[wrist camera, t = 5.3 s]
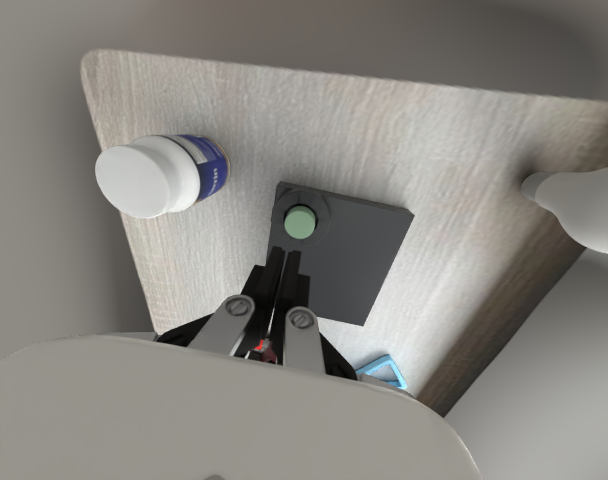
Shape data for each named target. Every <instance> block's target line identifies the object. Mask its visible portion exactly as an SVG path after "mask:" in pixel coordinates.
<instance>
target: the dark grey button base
mask: <svg viewBox="0 0 608 480" xmlns="http://www.w3.org/2000/svg"><path fill="white" fill-rule="evenodd" d="M296 206H305V207H307V208H309V209H310V210H311V211H312V212H313V213H314V216H315V227H314V230H313V232H312V234H311V235H310V236H308V237H306V238H303V239H298V238H294V237H292V236H290V235H289V234H288V233H287V231H286V229H285V225H284V223H285V219H286V217H287V214H288V212H289V211H290V210H291V209H292V208H294V207H296ZM414 216H415V215H414V214H412V213H411V212H410V211H409V210H408V209H404V208H399V207H395V206H390V205H386V204H381V203H377V202H372V201H368V200H363V199H359V198H354V197H350V196H345V195H340V194H336V193H331V192H327V191H322V190H318V189H313V188H309V187H304V186H300V185H295V184H291V183H286V182H282V181H280V182H279V184H278V185H277V189H276V196H275V203H274V206H273V210H272V217H271V223H272V224H271V231H270V238H269V244H268V251H267V258H266V263H267V260H268V258H269V255H270V253H271V250H272V248H273V246H277V247H282V248H283V250H284V251H286V253H285V258H284V263H283V269H282V274H283V271H284V267H285V263H286V259H287V256H288V252H292V251H293V250H296V251H301V252H302V253H301V260H300V266H299V272H298V274H303V275H308V276H310V290H309V304H308V309H310V310H311V311H312V312H313V313H314V314H315V315H316V317H321V318H326V319H330V320H335V321H340V322H345V323H350V324H354V325H359V326H364V324H365V321H366V319H367V317H368V315H369V313H370V311H371V308H372V306H373V304H374V302H375V300H376V298H377V296H378V293H379V291H380V289H381V287H382V285H383V283H384V281H385V278H386V276H387V274H388V272H389V270H390V268H391V265H392V263H393V261H394V259H395V257H396V255H397V253H398V250H399V248H400V246H401V244H402V242H403V240H404V238H405V235H406V233H407V231H408V229H409V227H410V225H411V222H412V220H413V218H414ZM282 274H281V278H282ZM280 282H281V280H280ZM279 286H280V285H279ZM275 303H276V301H275ZM274 308H275V305H274Z"/></svg>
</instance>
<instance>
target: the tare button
mask: <svg viewBox="0 0 608 480" xmlns="http://www.w3.org/2000/svg"><path fill="white" fill-rule="evenodd" d="M284 225H285V229H286V231H287V233H288V234H289V235H290V236H292V237H294V238H298V239H303V238H306V237H308V236H310V235H311V234H312V232H313V230H314V227H315V216H314V213H313V212H312V211H311V210H310V209H309V208H307V207H305V206H296V207H294V208H292V209H291V210H290V211H289V212H288V214H287V217H286V219H285V223H284Z"/></svg>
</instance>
